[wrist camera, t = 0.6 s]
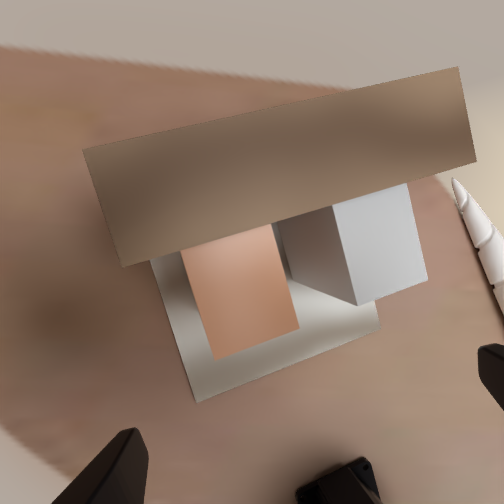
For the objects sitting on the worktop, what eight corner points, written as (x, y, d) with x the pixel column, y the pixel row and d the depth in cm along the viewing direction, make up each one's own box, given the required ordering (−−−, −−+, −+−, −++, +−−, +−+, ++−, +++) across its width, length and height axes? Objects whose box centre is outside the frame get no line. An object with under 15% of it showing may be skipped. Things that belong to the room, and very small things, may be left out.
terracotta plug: (254, 294, 23) (299, 328, 15) (199, 313, 22) (214, 360, 14) (230, 211, 22) (263, 198, 14) (172, 228, 22) (171, 224, 13)
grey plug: (342, 264, 25) (428, 279, 16) (293, 281, 24) (357, 306, 15) (322, 185, 24) (401, 159, 16) (271, 200, 23) (325, 180, 15)
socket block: (377, 327, 26) (522, 393, 15) (195, 399, 23) (216, 546, 12) (331, 140, 25) (458, 66, 14) (128, 192, 22) (81, 149, 11)
